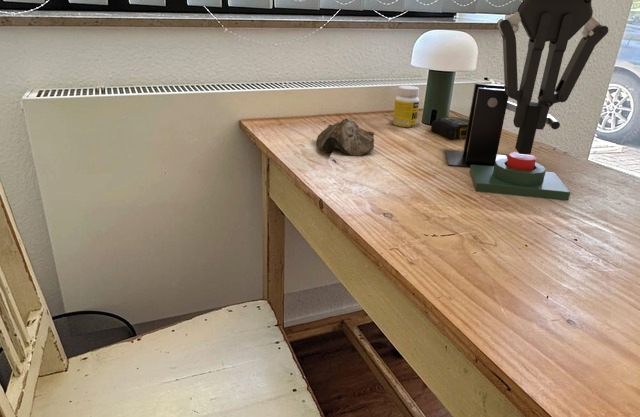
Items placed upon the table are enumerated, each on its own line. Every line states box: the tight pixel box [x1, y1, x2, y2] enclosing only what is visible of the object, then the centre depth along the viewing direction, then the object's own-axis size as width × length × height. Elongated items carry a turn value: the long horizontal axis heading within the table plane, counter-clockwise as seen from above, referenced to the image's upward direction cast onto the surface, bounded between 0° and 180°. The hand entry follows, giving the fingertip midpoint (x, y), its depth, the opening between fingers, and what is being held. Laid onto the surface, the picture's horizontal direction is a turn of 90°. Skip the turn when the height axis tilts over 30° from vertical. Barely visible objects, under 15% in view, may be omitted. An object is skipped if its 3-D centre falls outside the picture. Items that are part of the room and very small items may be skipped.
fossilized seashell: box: [315, 117, 375, 157], centre depth 82 cm, size 8×7×10 cm
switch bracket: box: [444, 82, 510, 169], centre depth 77 cm, size 10×8×13 cm
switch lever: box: [483, 87, 561, 130], centre depth 75 cm, size 12×5×2 cm, turn 80°
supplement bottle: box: [392, 85, 420, 129], centre depth 97 cm, size 5×5×8 cm
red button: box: [506, 151, 537, 171], centre depth 68 cm, size 4×4×2 cm
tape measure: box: [430, 116, 469, 141], centre depth 93 cm, size 7×7×4 cm
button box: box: [469, 157, 571, 201], centre depth 69 cm, size 12×8×4 cm, turn 80°
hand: (522, 151), depth 67 cm, fingers closed
